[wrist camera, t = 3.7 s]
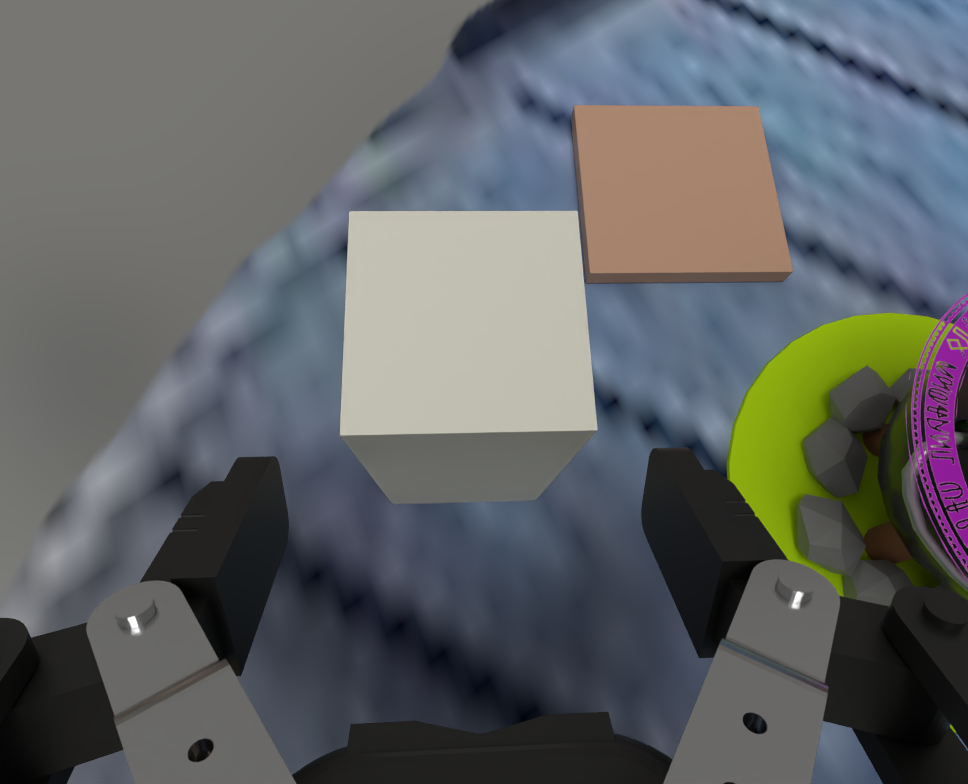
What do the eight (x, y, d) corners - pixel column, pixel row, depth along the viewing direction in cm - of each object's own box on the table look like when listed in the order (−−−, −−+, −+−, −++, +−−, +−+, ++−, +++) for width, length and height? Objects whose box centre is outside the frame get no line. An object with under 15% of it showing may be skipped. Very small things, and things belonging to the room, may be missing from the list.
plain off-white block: (527, 363, 23) (577, 205, 14) (535, 500, 21) (597, 430, 12) (394, 365, 23) (349, 205, 13) (392, 504, 21) (340, 435, 12)
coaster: (749, 119, 27) (758, 106, 26) (782, 281, 25) (792, 271, 24) (570, 119, 27) (574, 105, 26) (585, 283, 24) (590, 273, 23)
